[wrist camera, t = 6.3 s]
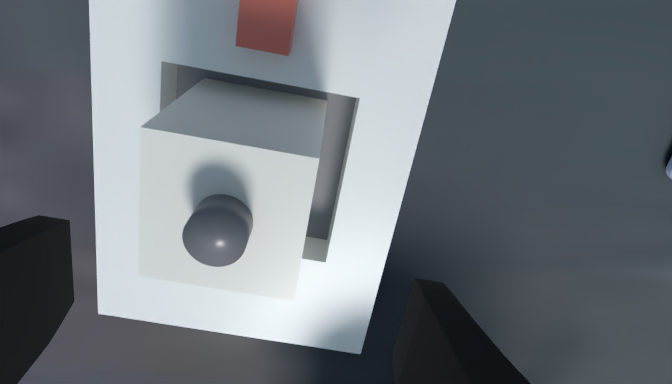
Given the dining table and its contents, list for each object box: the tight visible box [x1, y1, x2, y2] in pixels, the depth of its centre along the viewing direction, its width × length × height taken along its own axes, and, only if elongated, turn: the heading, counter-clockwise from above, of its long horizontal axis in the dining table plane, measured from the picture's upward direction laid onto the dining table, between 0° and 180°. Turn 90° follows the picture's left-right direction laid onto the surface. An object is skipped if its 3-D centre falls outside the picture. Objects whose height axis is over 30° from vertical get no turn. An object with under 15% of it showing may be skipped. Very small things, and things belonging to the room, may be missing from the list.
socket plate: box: [89, 0, 456, 354], centre depth 18 cm, size 11×15×3 cm
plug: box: [138, 78, 328, 301], centre depth 15 cm, size 4×4×7 cm
